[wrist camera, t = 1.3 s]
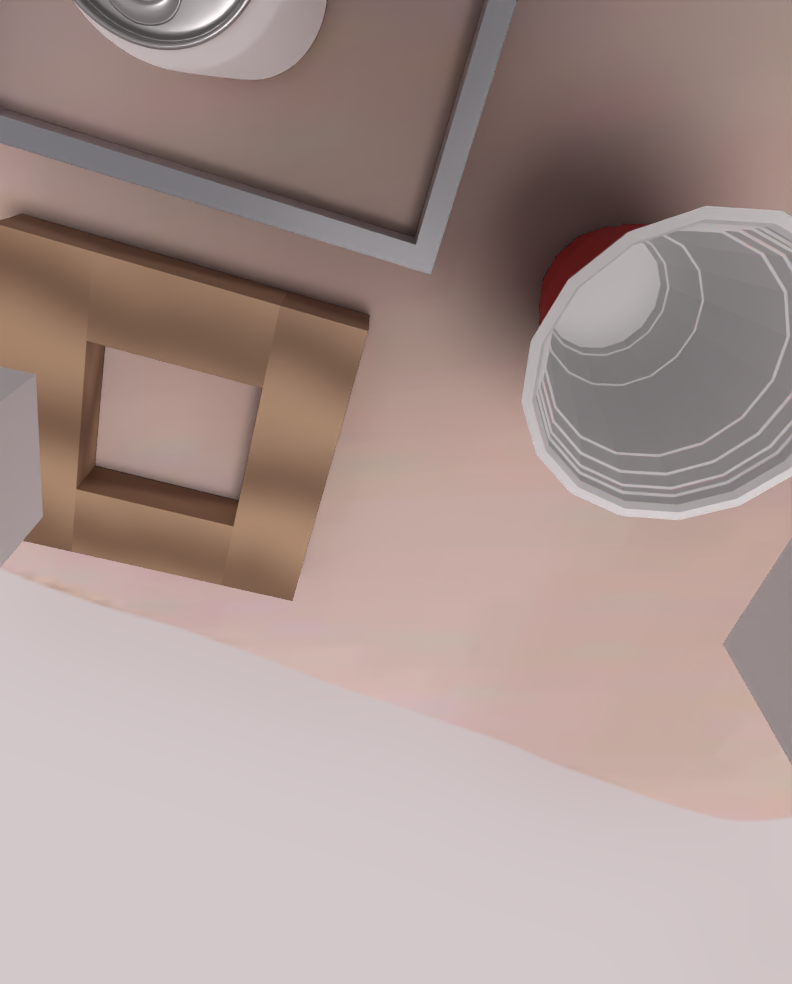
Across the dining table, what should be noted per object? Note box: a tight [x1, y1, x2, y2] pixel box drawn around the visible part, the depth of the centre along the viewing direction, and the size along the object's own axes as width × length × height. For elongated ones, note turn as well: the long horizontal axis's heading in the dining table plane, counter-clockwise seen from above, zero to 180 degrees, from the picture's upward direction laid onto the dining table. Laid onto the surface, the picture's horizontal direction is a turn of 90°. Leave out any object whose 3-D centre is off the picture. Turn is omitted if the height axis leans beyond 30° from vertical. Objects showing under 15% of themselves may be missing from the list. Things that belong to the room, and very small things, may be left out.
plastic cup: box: [521, 206, 792, 520], centre depth 27 cm, size 11×11×12 cm
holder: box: [0, 214, 370, 601], centre depth 34 cm, size 16×16×2 cm
